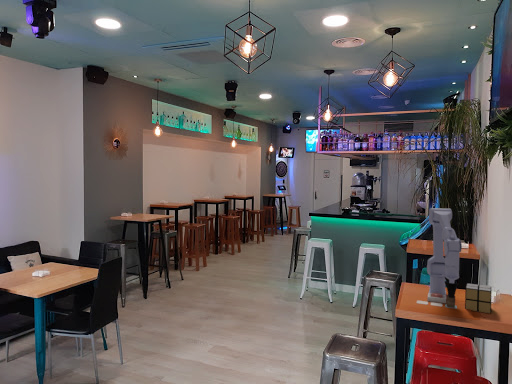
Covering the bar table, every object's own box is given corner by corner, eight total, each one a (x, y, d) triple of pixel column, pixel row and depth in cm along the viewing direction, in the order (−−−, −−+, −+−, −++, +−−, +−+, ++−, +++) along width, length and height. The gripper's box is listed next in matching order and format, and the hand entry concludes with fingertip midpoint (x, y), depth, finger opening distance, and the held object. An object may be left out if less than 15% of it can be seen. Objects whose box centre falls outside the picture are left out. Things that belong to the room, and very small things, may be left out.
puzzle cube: (466, 304, 183) (466, 283, 182) (490, 308, 178) (491, 286, 177) (464, 310, 174) (465, 287, 174) (491, 314, 169) (491, 291, 169)
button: (431, 298, 190) (431, 292, 190) (442, 299, 188) (442, 293, 188) (431, 301, 186) (431, 294, 186) (442, 302, 184) (442, 296, 184)
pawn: (446, 304, 179) (447, 290, 179) (454, 305, 178) (455, 291, 178) (446, 306, 176) (447, 291, 176) (455, 307, 175) (455, 292, 175)
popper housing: (428, 297, 192) (428, 292, 192) (446, 299, 189) (446, 294, 189) (427, 302, 185) (427, 296, 185) (446, 304, 182) (446, 299, 182)
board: (415, 301, 186) (415, 299, 186) (458, 306, 178) (458, 305, 178) (415, 304, 181) (415, 303, 181) (458, 310, 173) (458, 309, 173)
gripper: (442, 261, 185) (441, 290, 185) (442, 267, 172) (441, 298, 172) (459, 263, 182) (458, 292, 182) (460, 269, 169) (459, 300, 169)
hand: (451, 295), depth 177 cm, fingers open, 7 cm apart
